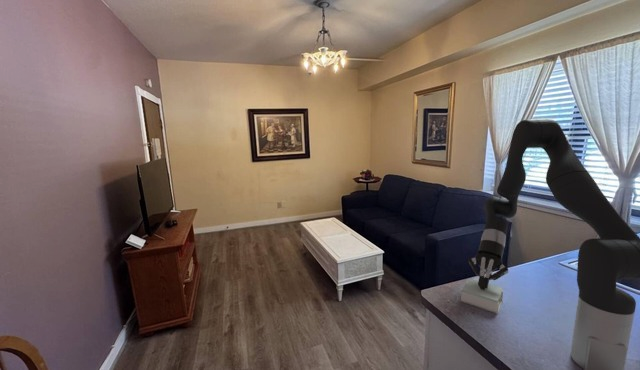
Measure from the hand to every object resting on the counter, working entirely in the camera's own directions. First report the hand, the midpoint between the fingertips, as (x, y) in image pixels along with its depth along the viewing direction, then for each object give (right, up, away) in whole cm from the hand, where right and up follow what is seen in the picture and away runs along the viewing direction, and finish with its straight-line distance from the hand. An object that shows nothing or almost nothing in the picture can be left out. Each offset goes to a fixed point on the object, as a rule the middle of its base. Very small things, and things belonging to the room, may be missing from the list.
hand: (482, 288), depth 91 cm
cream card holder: (+1, -5, +2) cm, 6 cm away
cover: (0, -1, +1) cm, 2 cm away
